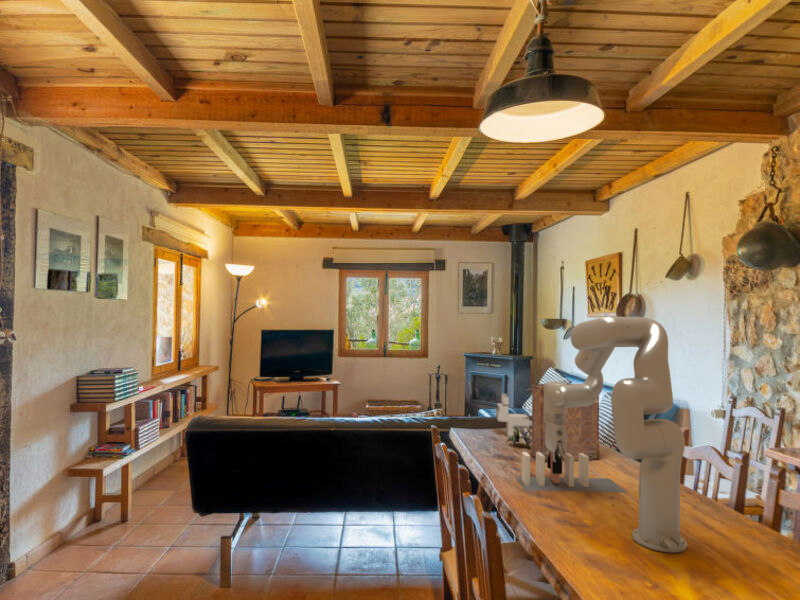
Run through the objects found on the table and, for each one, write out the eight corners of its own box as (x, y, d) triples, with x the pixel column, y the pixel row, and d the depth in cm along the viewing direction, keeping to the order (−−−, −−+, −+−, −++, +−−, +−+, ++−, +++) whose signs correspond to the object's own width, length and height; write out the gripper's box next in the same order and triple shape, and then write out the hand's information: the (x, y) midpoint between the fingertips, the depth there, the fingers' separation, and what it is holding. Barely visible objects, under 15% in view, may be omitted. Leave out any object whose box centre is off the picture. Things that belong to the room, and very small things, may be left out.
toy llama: (534, 438, 237) (535, 396, 238) (497, 437, 239) (498, 395, 239) (531, 434, 244) (532, 394, 245) (496, 433, 246) (496, 393, 247)
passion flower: (527, 459, 220) (538, 441, 214) (504, 455, 219) (514, 437, 212) (523, 440, 229) (532, 422, 223) (500, 436, 228) (510, 418, 222)
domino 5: (588, 486, 168) (588, 457, 168) (583, 486, 168) (584, 457, 168) (583, 482, 173) (583, 453, 173) (578, 481, 173) (578, 453, 173)
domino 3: (559, 482, 168) (559, 453, 168) (554, 482, 168) (554, 453, 168) (554, 478, 173) (554, 449, 173) (550, 477, 173) (550, 449, 173)
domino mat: (627, 494, 164) (627, 492, 164) (524, 492, 163) (524, 490, 164) (609, 480, 178) (609, 478, 178) (515, 478, 177) (515, 476, 178)
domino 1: (529, 485, 168) (530, 456, 168) (525, 485, 168) (525, 455, 168) (526, 480, 173) (526, 452, 173) (521, 480, 173) (521, 451, 173)
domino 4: (573, 486, 168) (574, 457, 168) (569, 486, 168) (569, 456, 168) (568, 481, 173) (569, 452, 173) (564, 481, 173) (564, 452, 173)
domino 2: (544, 486, 168) (544, 456, 168) (539, 485, 168) (540, 456, 168) (540, 481, 173) (540, 452, 173) (535, 481, 173) (536, 452, 173)
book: (586, 454, 211) (587, 383, 212) (599, 460, 202) (599, 386, 203) (531, 456, 207) (532, 384, 208) (541, 462, 198) (542, 387, 199)
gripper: (574, 423, 163) (574, 479, 162) (558, 413, 180) (557, 463, 179) (551, 423, 163) (551, 478, 162) (537, 412, 180) (536, 463, 179)
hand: (554, 470), depth 171 cm, fingers closed on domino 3, 4 cm apart
